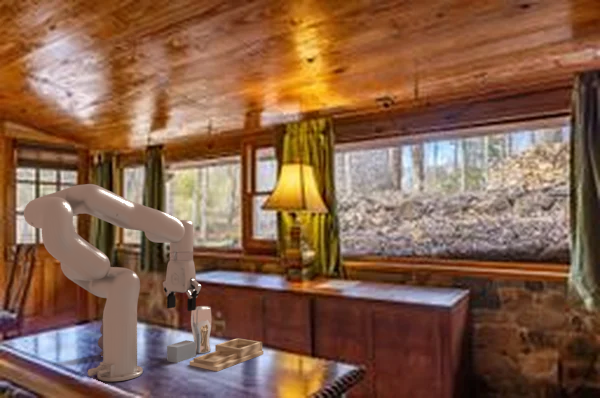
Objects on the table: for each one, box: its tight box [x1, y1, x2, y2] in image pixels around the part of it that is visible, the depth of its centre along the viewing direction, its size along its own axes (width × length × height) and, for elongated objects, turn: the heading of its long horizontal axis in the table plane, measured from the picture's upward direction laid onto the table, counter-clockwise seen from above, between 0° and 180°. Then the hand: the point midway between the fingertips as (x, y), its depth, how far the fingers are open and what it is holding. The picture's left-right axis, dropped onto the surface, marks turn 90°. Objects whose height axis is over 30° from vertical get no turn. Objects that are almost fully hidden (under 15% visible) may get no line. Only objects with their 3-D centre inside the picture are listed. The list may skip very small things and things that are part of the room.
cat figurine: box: [97, 318, 103, 356], centre depth 171 cm, size 8×8×12 cm
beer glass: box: [190, 305, 213, 355], centre depth 175 cm, size 7×7×15 cm
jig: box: [189, 337, 264, 372], centre depth 164 cm, size 22×12×4 cm, turn 145°
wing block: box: [166, 339, 197, 364], centre depth 166 cm, size 8×4×5 cm, turn 148°
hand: (181, 309), depth 167 cm, fingers open, 9 cm apart
